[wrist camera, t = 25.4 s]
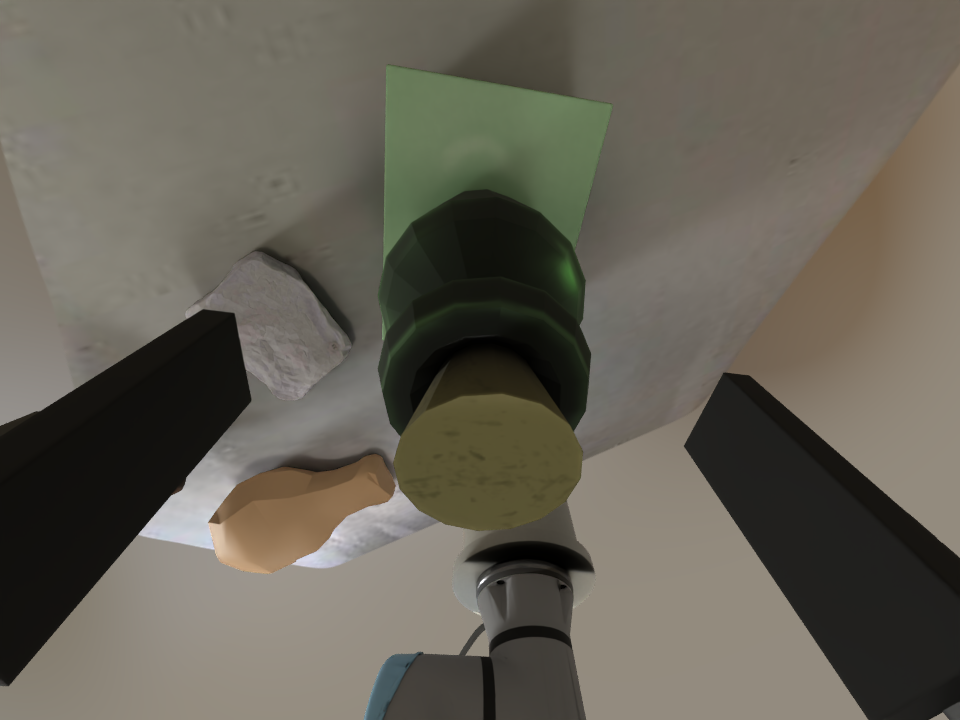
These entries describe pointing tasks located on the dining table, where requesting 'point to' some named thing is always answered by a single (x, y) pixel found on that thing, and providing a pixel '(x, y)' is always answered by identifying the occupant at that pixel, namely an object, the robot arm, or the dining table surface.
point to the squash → (293, 512)
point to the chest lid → (486, 148)
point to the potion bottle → (484, 362)
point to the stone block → (278, 325)
